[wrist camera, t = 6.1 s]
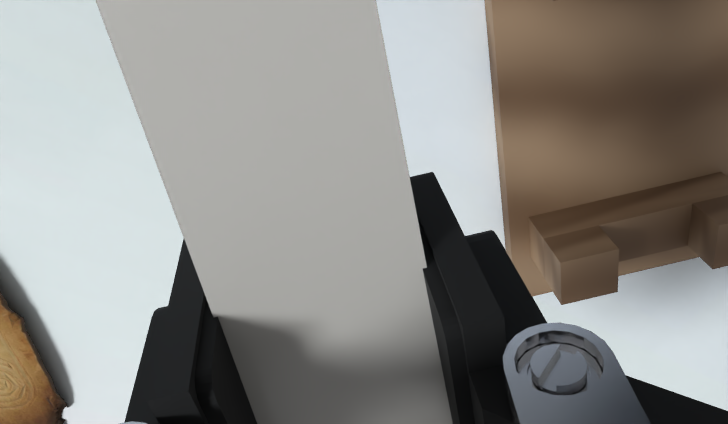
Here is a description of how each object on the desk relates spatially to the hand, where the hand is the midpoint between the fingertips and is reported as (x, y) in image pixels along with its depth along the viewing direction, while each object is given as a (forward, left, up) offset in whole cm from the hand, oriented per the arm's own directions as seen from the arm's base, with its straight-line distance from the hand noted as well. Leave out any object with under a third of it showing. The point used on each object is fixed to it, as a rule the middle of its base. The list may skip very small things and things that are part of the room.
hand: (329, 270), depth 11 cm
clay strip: (+1, 0, -1) cm, 1 cm away
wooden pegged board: (+5, +14, -17) cm, 22 cm away
